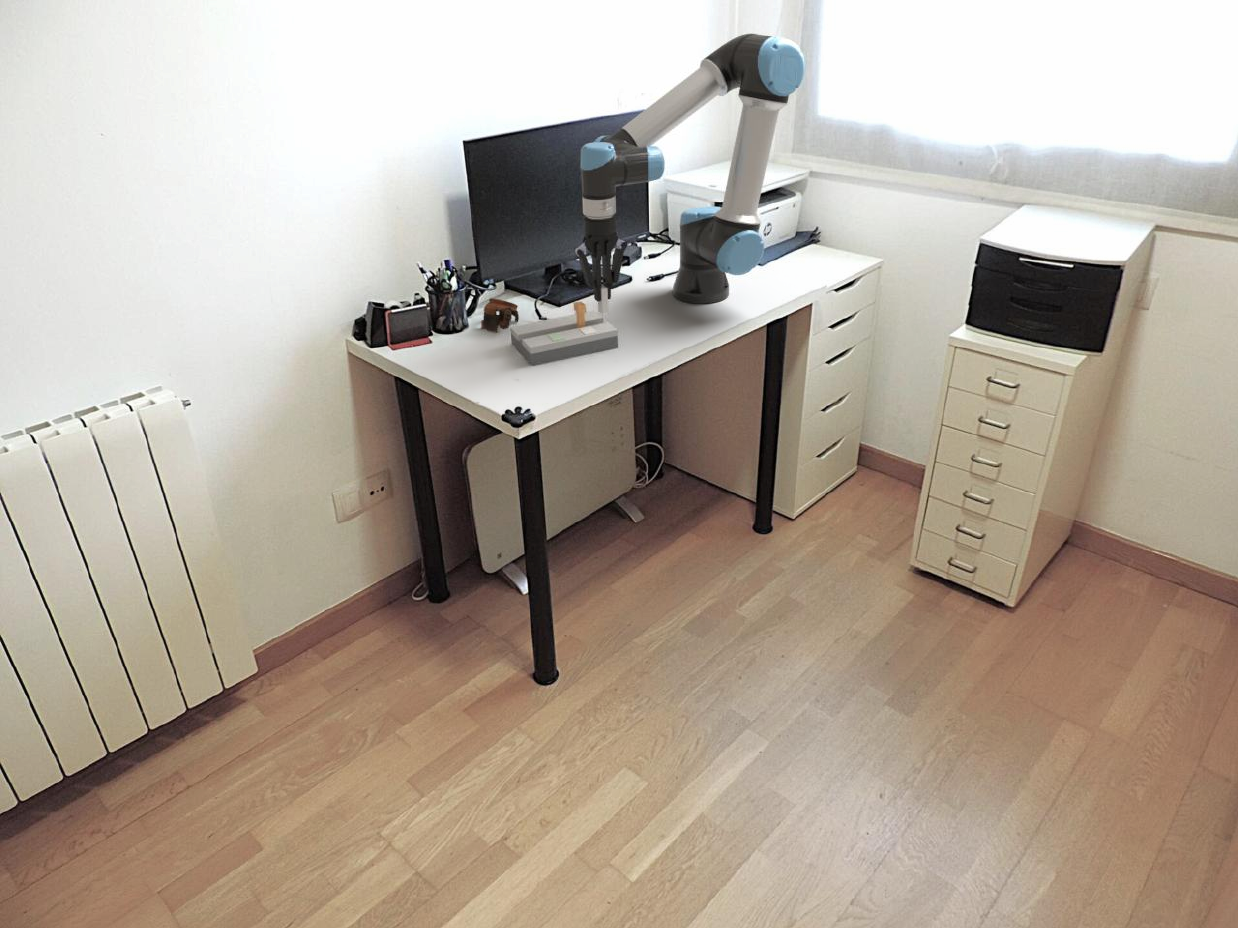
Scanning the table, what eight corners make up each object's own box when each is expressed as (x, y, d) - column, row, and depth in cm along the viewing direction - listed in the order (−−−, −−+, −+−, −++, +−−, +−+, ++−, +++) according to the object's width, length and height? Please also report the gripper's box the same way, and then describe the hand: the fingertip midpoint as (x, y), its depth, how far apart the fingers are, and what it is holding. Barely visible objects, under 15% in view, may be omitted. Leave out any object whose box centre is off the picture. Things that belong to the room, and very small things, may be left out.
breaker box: (594, 327, 224) (593, 309, 222) (618, 347, 213) (617, 328, 211) (511, 344, 217) (510, 326, 214) (531, 365, 206) (530, 347, 203)
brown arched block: (473, 327, 228) (480, 295, 227) (506, 336, 233) (513, 305, 232) (491, 330, 218) (499, 297, 217) (525, 340, 223) (533, 307, 222)
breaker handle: (582, 326, 216) (581, 300, 213) (587, 330, 214) (586, 304, 211) (574, 328, 216) (573, 302, 212) (579, 332, 213) (578, 306, 210)
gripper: (579, 223, 198) (584, 322, 210) (632, 215, 202) (634, 313, 215) (566, 215, 204) (572, 312, 216) (618, 207, 208) (620, 303, 220)
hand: (603, 312), depth 215 cm, fingers closed
